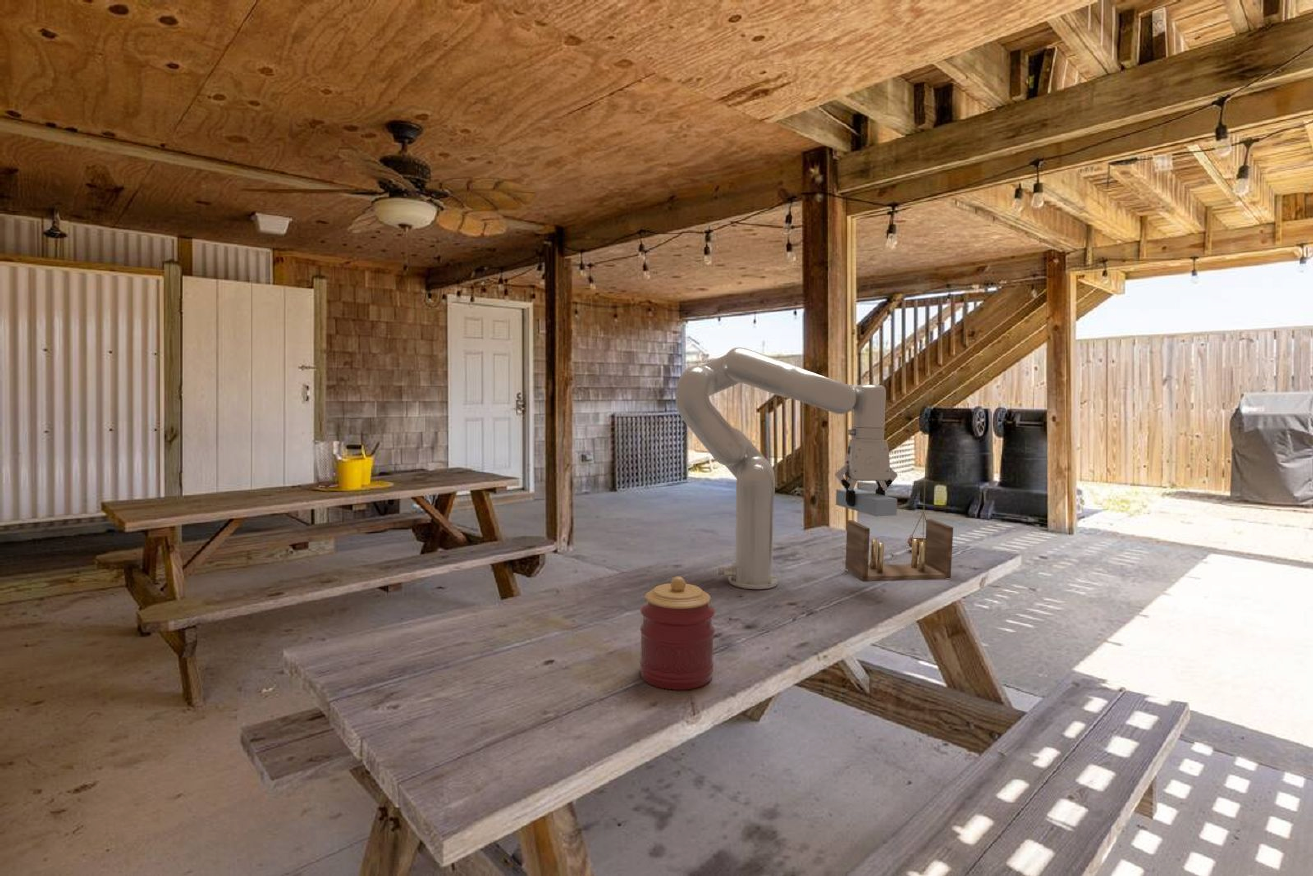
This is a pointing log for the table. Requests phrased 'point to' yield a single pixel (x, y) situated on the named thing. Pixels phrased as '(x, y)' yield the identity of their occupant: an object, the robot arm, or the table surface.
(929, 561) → the shelf frame
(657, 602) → the canister
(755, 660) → the table surface
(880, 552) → the shelf pegs
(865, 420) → the robot arm
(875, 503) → the shelf board
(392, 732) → the table surface
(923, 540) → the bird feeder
